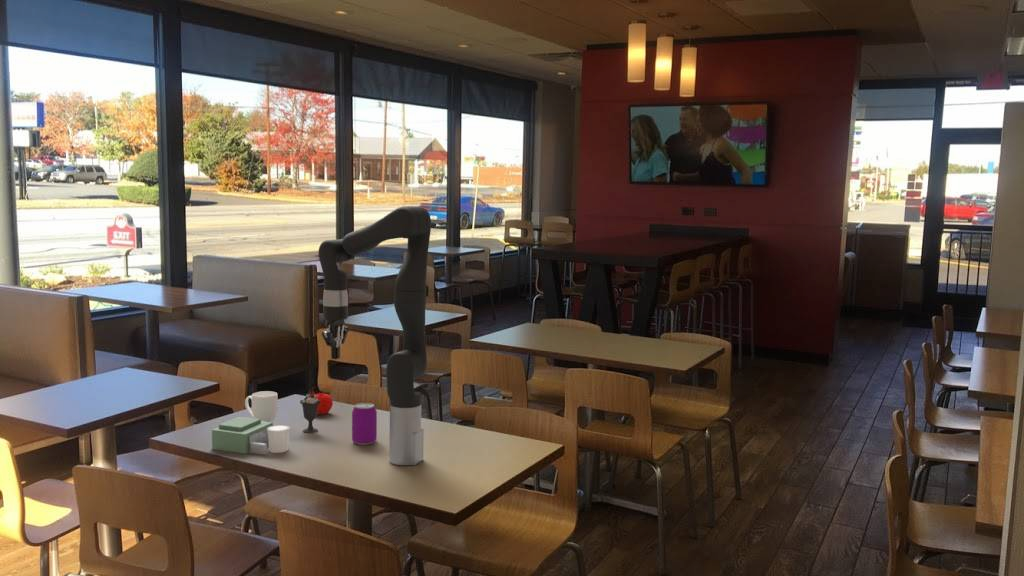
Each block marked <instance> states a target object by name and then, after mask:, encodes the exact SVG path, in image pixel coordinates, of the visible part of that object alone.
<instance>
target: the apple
mask: <svg viewBox="0 0 1024 576" xmlns="http://www.w3.org/2000/svg"><path fill="white" fill-rule="evenodd" d="M315 395H316V398H317V399H318V400H320V403H319V404H318V411H317V415H327V414H328V413H330V411H331V410H332V409H333V405H334V404H333V403H334V402H333V398H332V396H331V395H329V394H328V393H316V394H315Z"/></svg>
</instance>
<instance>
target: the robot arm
mask: <svg viewBox="0 0 1024 576" xmlns="http://www.w3.org/2000/svg"><path fill="white" fill-rule="evenodd" d="M431 229H432V219H431V215H430V213H429V211H428V209H426V207H424V206H415V205H413V206H412V205H411V206H410V205H406V206H404V205H403V206H400V207H399V206H398V207H397V208H395V209H394V210H392V211H391V212H389V213H387V214H386V215H385V216H384V217H382V218H380V219H378V220H377V221H375V222H373V223H371V224H368V225H366V226H363V227H361V228H360V229H357V230H354V231H351V232H349V233H347V234H345V236H343V238H340V239H325V240H323V241H322V242H321V244H320V245H319V248H318V253H317V254H318V259H319V263H320V266H321V267H320V268H321V271H322V273H323V289H324V290H323V297H322V298H323V299H322V300H323V301H322V302H323V303H322V307H323V308H322V309H323V310H322V312H323V313H322V314H323V315H322V316H323V318H322V319H324V320H326V325H325V328H326V329H325V331H322V332H321V336H322V339H323V340H324V342H325V344H326V346H327V347H330V352H331V353H330V355H331V356H330V358H331V360H339V359H340V358H341V347H342V344H343V345H344V344H345V341H346V338H347V335H348V332H349V330H350V327H349V326H346V325H345V324H346V322H345V320H347V319H349V318H348V317H349V294H348V273H347V272H346V271H344V270H343V269H342V270H341V269H339V266H338V263H344V262H345V263H346V262H348V261H350V260H352V259H354V258H355V257H357V256H358V255H362V254H364V253H366V252H368V251H369V252H370V251H371V250H373V249H375V248H377V247H378V246H379V245H380V244H381V243H383V242H386V241H389V240H394V239H401V238H402V239H407V247H406V248H407V250H406V255H405V258H404V261H403V263H402V265H401V267H400V269H399V271H398V274H397V275H396V278H395V282H394V290H393V291H394V293H393V295H394V296H393V298H394V300H393V303H394V304H393V305H394V310H395V313H396V316H397V318H398V320H399V322H400V324H401V325H400V326H401V329H402V335H403V337H402V338H403V344H402V350H401V351H398V352H394V353H393V354H391V355H390V356H389V357H388V360H387V362H386V373H385V374H386V376H385V377H386V392H387V396H388V399H389V463H391V464H392V465H396V466H417V465H418V464H419V463H421V461H424V441H425V440H424V438H425V437H424V434H425V433H424V432H425V431H424V430H425V429H424V428H422V395H421V394H420V393H419V392H416V391H415V385H414V383H415V382H414V381H415V380H418V379H420V378H422V377H423V375H424V374H425V373H426V371H427V365H428V361H427V360H428V358H427V346H426V345H427V344H426V305H427V304H426V303H427V269H428V267H427V266H428V254H429V247H430V246H429V245H430V238H431V232H432V231H431Z"/></svg>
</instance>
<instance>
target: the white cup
mask: <svg viewBox="0 0 1024 576" xmlns="http://www.w3.org/2000/svg"><path fill="white" fill-rule="evenodd" d="M290 433H291V426H289V425H286V424H277V425H276V424H274V425H273V426H270V427H268V428H267V434H268V443H269V444H268V452H270V453H275V454H276V453H277V454H280V453H285V452H287V451H288V450H289V449H290V448H289V447H290Z"/></svg>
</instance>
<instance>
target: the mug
mask: <svg viewBox="0 0 1024 576" xmlns="http://www.w3.org/2000/svg"><path fill="white" fill-rule="evenodd" d="M249 399H250V400H251V407H250V405H249ZM278 400H279V399H278V392H275V391H270V390H263V391H256V392H253V393H252V394H251V395H248V396H247V397H246V398H245V399H244V407H245V410H246V411H247V412H248V414H250V416H251V418H254V419H261V421H265V422H273V423H274V421H275V420H276V419H275V418H276V416H277V413H278V408H279V406H278V405H279V403H278V402H279V401H278Z"/></svg>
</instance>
